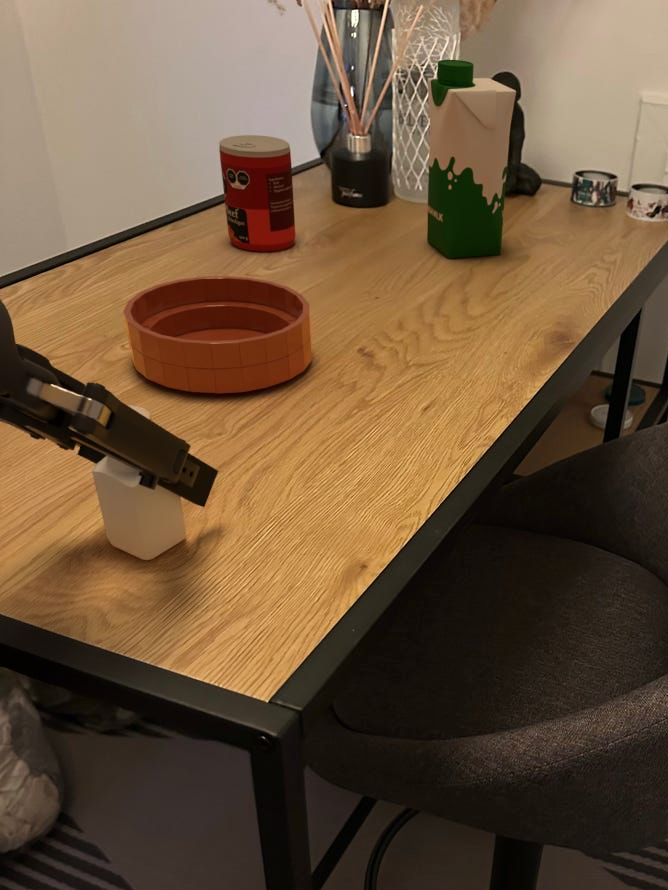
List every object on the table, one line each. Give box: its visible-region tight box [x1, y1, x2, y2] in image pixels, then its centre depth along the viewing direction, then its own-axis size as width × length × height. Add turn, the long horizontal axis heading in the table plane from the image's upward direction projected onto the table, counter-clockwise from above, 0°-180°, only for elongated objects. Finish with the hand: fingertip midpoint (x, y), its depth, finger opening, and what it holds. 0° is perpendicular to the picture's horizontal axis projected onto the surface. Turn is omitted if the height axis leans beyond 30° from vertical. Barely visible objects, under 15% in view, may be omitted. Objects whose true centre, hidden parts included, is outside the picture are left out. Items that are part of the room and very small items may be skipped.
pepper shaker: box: [91, 404, 187, 561], centre depth 62 cm, size 4×4×10 cm
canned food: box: [218, 134, 296, 253], centre depth 111 cm, size 8×8×11 cm
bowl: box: [122, 275, 313, 394], centre depth 86 cm, size 16×16×5 cm
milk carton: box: [426, 59, 517, 260], centre depth 111 cm, size 9×9×20 cm
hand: (177, 477), depth 65 cm, fingers closed on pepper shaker, 4 cm apart
